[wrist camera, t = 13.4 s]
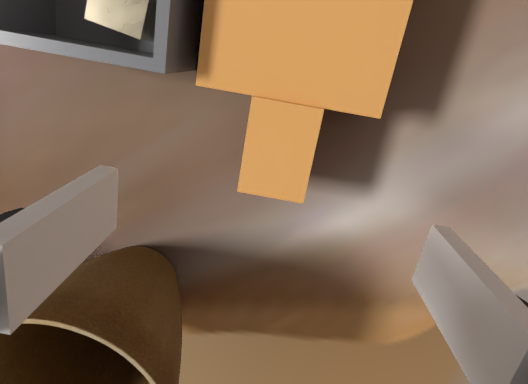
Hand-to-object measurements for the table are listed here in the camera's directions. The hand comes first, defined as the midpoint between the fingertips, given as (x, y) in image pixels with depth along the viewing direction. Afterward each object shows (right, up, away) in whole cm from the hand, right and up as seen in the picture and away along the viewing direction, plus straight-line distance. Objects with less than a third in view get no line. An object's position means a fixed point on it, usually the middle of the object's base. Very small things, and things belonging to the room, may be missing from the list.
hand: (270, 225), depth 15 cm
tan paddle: (+2, +12, +11) cm, 17 cm away
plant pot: (-12, -7, +23) cm, 27 cm away
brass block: (-10, +16, +13) cm, 23 cm away
